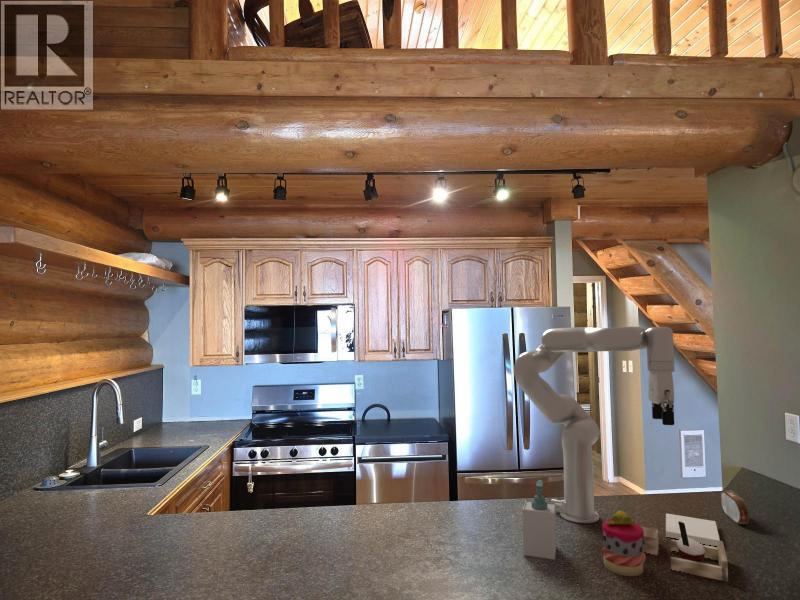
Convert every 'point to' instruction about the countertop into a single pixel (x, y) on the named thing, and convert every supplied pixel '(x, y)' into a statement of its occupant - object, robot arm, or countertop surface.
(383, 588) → the countertop surface
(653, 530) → the offcut upper
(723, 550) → the frame
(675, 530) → the cutting board
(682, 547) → the cocoa
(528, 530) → the soap bottle
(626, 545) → the cake
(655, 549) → the offcut lower
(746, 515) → the tin
